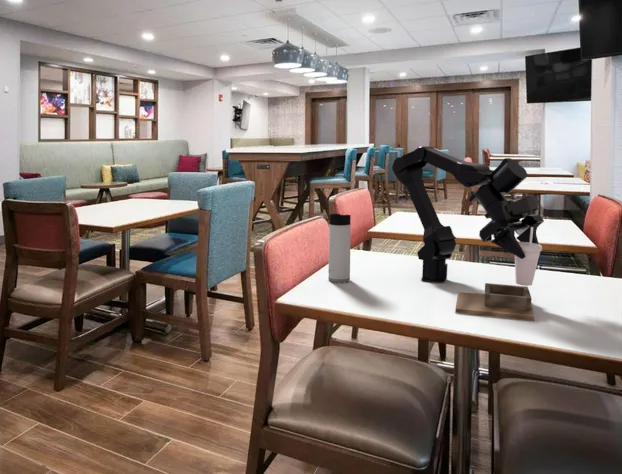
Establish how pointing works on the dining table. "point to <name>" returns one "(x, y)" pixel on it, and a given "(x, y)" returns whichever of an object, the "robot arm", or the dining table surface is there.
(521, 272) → the smoothie
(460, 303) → the holder
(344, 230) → the travel mug
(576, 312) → the dining table surface
